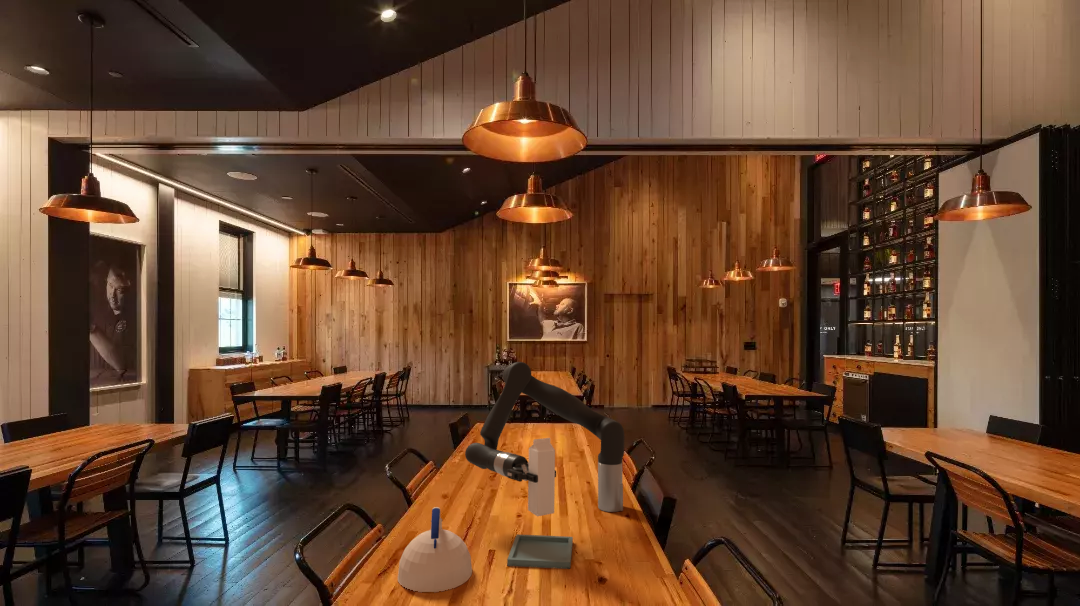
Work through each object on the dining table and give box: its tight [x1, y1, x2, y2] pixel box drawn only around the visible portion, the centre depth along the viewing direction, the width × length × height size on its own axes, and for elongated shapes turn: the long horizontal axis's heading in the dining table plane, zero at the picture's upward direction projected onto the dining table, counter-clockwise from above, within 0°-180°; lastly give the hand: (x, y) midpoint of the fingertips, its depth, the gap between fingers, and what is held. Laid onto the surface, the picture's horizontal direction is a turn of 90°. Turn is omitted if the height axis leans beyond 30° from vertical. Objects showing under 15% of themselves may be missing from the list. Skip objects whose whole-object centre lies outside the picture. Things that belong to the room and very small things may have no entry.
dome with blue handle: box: [397, 506, 473, 593], centre depth 142 cm, size 20×21×18 cm
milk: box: [527, 437, 556, 517], centre depth 156 cm, size 6×6×22 cm
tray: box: [506, 534, 574, 570], centre depth 155 cm, size 18×18×2 cm
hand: (546, 476), depth 155 cm, fingers closed on milk, 7 cm apart
